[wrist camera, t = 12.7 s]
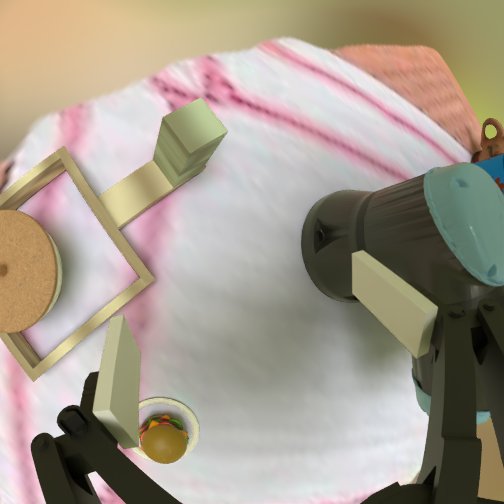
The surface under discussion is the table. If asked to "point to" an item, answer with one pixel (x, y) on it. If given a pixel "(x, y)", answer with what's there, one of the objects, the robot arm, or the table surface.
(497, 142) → the decorative planter
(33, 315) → the lidded jar
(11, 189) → the pull frame
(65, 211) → the table surface
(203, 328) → the table surface
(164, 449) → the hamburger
